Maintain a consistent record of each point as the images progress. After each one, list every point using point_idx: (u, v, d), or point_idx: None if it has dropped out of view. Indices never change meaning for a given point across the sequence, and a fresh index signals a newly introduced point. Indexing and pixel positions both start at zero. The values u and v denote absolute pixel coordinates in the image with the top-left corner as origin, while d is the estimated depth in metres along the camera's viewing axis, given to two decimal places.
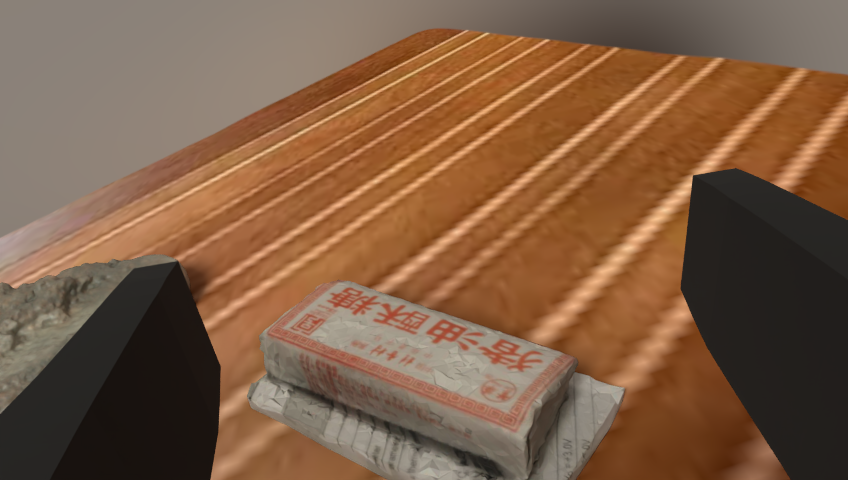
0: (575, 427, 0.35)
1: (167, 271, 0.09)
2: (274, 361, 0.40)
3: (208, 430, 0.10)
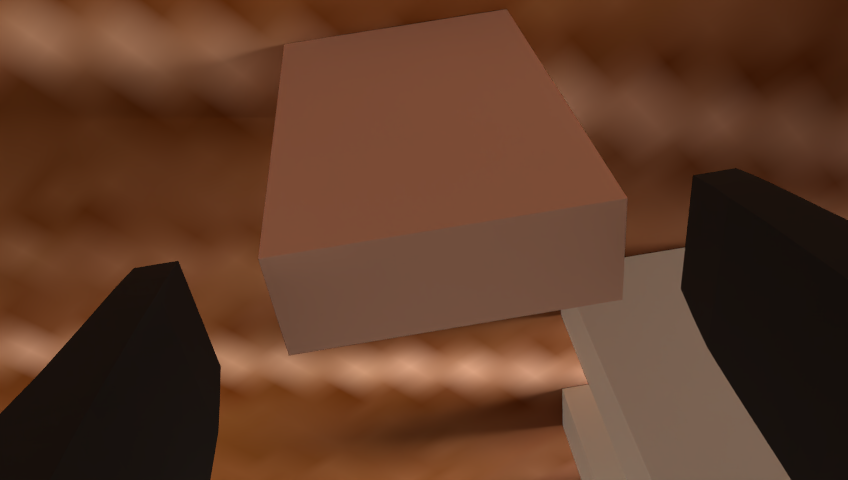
0: None
1: (167, 271, 0.09)
2: None
3: (208, 430, 0.10)
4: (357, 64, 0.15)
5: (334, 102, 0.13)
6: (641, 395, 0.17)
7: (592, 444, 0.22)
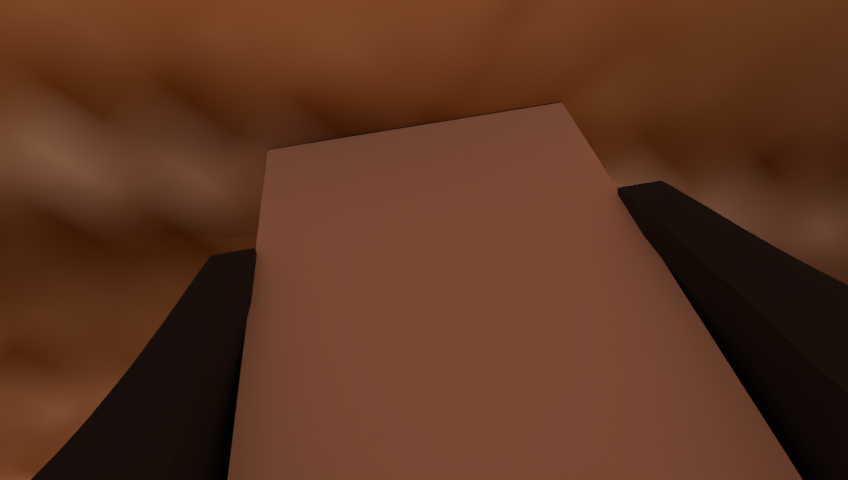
0: None
1: (247, 258, 0.09)
2: None
3: None
4: (366, 192, 0.11)
5: (334, 263, 0.09)
6: None
7: None
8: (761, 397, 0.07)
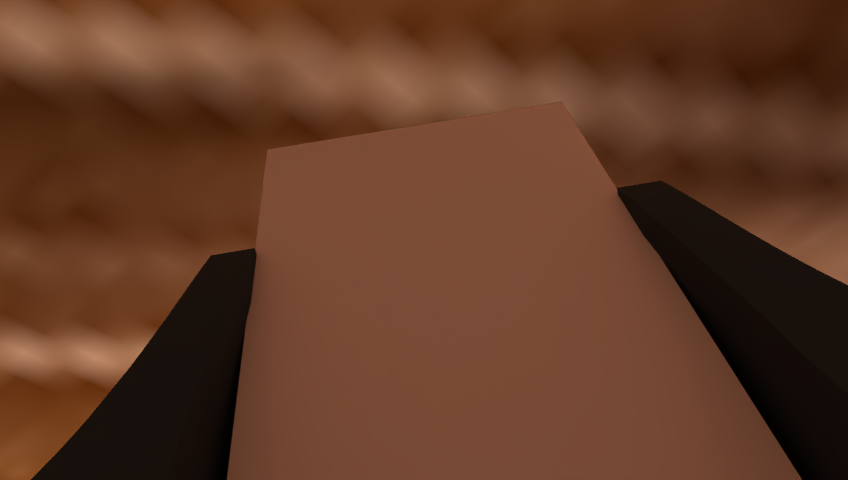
0: None
1: (247, 258, 0.09)
2: None
3: None
4: (366, 191, 0.11)
5: (334, 262, 0.09)
6: None
7: None
8: (760, 397, 0.07)
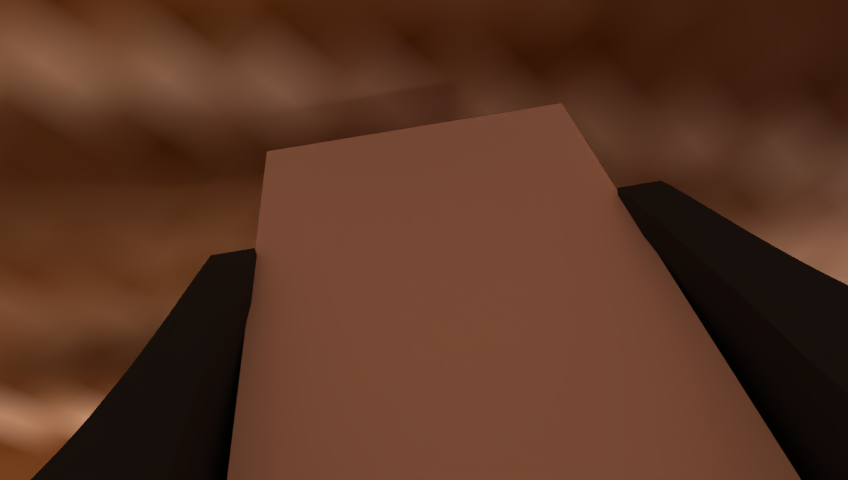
0: None
1: (247, 258, 0.09)
2: None
3: None
4: (365, 193, 0.11)
5: (333, 264, 0.09)
6: None
7: None
8: (761, 397, 0.07)
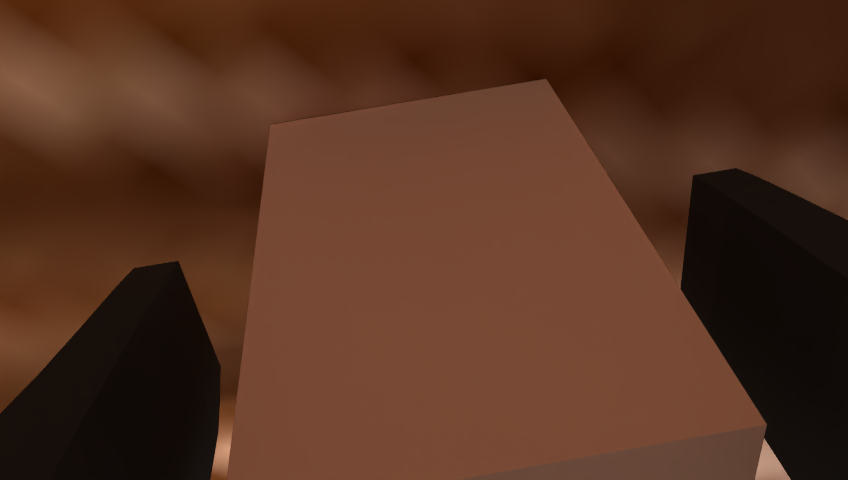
0: None
1: (167, 271, 0.09)
2: None
3: (208, 430, 0.10)
4: (362, 160, 0.12)
5: (332, 221, 0.10)
6: None
7: None
8: None
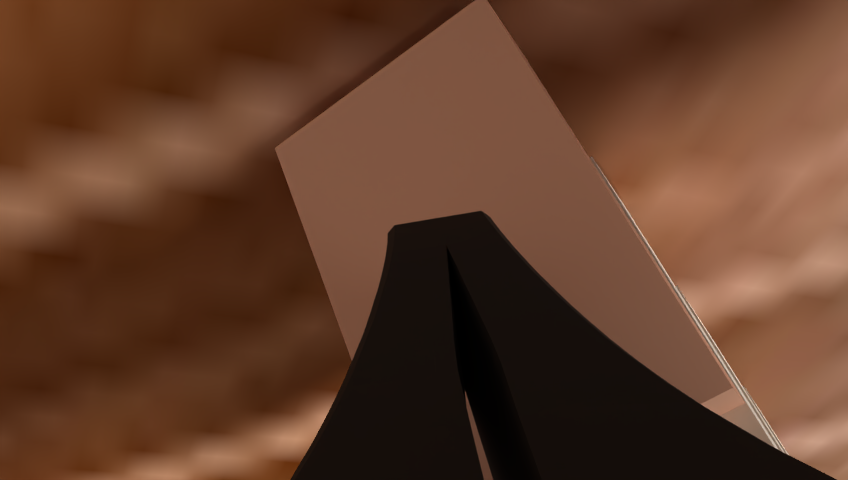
0: None
1: (437, 226, 0.09)
2: None
3: None
4: (367, 174, 0.13)
5: (374, 260, 0.13)
6: None
7: None
8: (510, 441, 0.07)
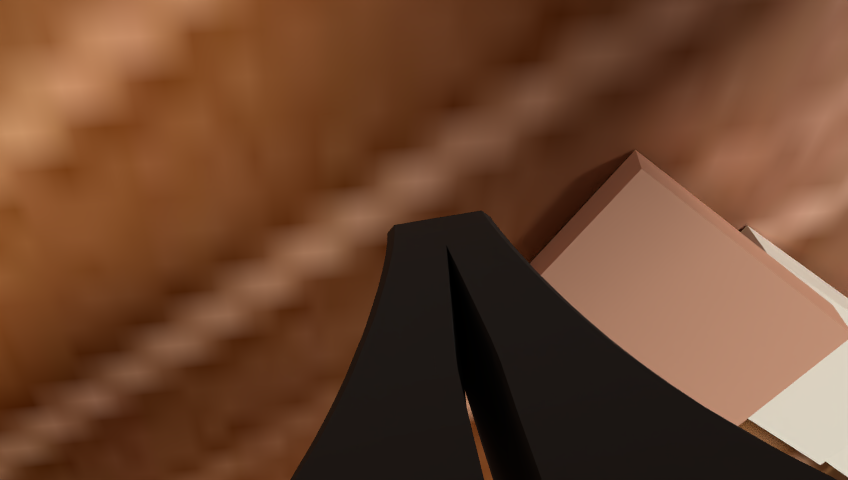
0: None
1: (437, 226, 0.09)
2: None
3: (464, 386, 0.10)
4: (608, 291, 0.22)
5: (637, 332, 0.22)
6: (772, 416, 0.25)
7: None
8: (511, 440, 0.07)
